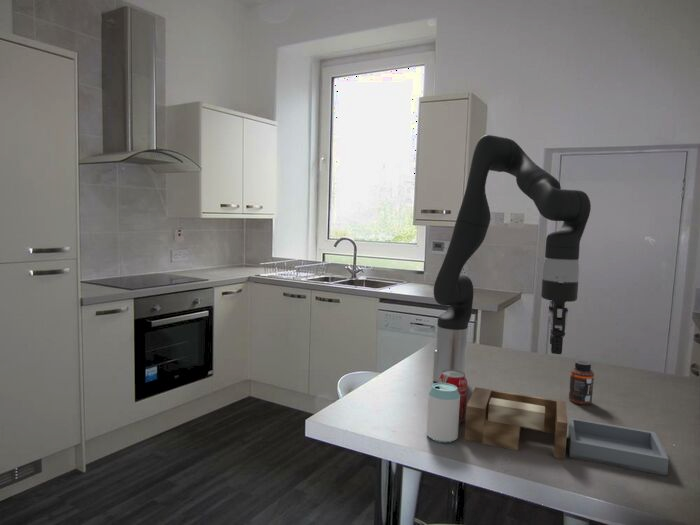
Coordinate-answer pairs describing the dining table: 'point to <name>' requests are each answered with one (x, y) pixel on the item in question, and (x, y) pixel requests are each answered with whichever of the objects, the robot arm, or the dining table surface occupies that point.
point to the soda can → (461, 383)
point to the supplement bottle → (581, 383)
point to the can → (443, 412)
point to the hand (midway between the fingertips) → (555, 349)
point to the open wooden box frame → (510, 434)
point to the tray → (616, 446)
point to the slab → (516, 413)
